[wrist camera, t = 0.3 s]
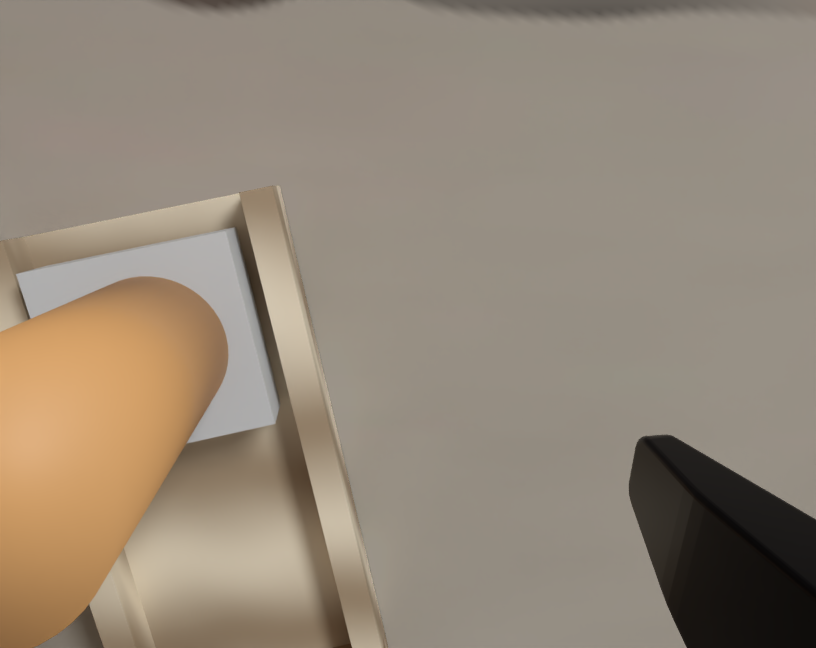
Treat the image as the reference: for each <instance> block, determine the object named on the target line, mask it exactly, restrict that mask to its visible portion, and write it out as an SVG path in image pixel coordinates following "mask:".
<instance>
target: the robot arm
mask: <svg viewBox="0 0 816 648" xmlns="http://www.w3.org/2000/svg"><path fill="white" fill-rule="evenodd" d="M629 496H630V500H631V504H632V507H633V510H634V512H635V515H636V518H637V521H638V524H639V527H640V530H641V533H642V536H643V538H644V541H645V544H646V547H647V550H648V553H649V556H650V559H651V561H652V564H653V567H654V570H655V573H656V576H657V579H658V582H659V585H660V587H661V590H662V593H663V595H664V598H665V601H666V603H667V606H668V608H669V610H670V613H671V615H672V617H673V619H674V622H675V624H676V626H677V628H678V630H679V632H680V634H681V636H682V638H683V641H684V643H685V645H686V647H687V648H816V519H814V518H812V517H811V516H809V515H807V514H806V513H804V512H802V511H800V510H799V509H797V508H795V507H794V506H792V505H790V504H788V503H787V502H785V501H783V500H782V499H780V498H778V497H776V496H775V495H773V494H771V493H770V492H768V491H766V490H765V489H763V488H761V487H759V486H758V485H756V484H754V483H753V482H751V481H749V480H747V479H746V478H744V477H742V476H741V475H739V474H737V473H735V472H734V471H732V470H730V469H729V468H727V467H725V466H723V465H722V464H720V463H718V462H717V461H715V460H713V459H711V458H710V457H708V456H706V455H705V454H703V453H701V452H699V451H698V450H696V449H694V448H693V447H691V446H689V445H687V444H686V443H684V442H682V441H681V440H679V439H677V438H675V437H673V436H671V435H655V436H644V437H642V438H640V439H639V440H638V442H637V444H636V448H635V453H634V459H633V464H632V469H631V475H630V480H629Z"/></svg>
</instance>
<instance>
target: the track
mask: <svg viewBox="0 0 816 648" xmlns="http://www.w3.org/2000/svg"><path fill="white" fill-rule="evenodd" d="M233 227H236V228H237V232H238V236H239V240H240V244H241V248H242V252H243V256H244V260H245V264H246V268H247V272H248V276H249V280H250V284H251V288H252V292H253V296H254V300H255V304H256V308H257V312H258V316H259V320H260V323H261V327H262V331H263V335H264V339H265V343H266V347H267V351H268V355H269V359H270V363H271V367H272V371H273V375H274V379H275V383H276V387H277V391H278V395H279V399H280V403H281V404H280V408H279V411H278V415H277V419H276V422H275V424H272V425H268V426H263V427H259V428H254V429H250V430H245V431H241V432H236V433H232V434H227V435H223V436H218V437H214V438H209V439H205V440H200V441H196V442H191V443H187V444H186V445H185V447H184V448H183V450H182V452H181V453H180V455H179V457H178V458H177V460H176V462H175V463H174V465H173V467H172V468H171V470H170V472H169V473H168V475H167V477H166V478H165V480H164V482H163V483H162V485H161V487H160V488H159V490H158V492H157V493H156V495H155V497H154V498H153V500H152V502H151V503H150V505H149V507H148V508H147V510H146V512H145V513H144V515H143V517H142V518H141V520H140V522H139V523H138V525H137V527H136V528H135V530H134V532H133V533H132V535H131V537H130V538H129V540H128V542H127V543H126V545H125V547H124V548H123V550H122V552H121V553H120V555H119V557H118V558H117V560H116V562H115V563H114V565H113V567H112V568H111V570H110V572H109V573H108V575H107V577H106V578H105V580H104V582H103V584H102V585H101V587H100V589H99V590H98V592H97V594H96V595H95V597H94V598H93V599H92V601H91V602H90V603H89V606H90V609H91V612H92V615H93V617H94V620H95V623H96V626H97V629H98V632H99V635H100V638H101V641H102V644H103V647H104V648H388V644H387V640H386V636H385V632H384V627H383V623H382V619H381V615H380V610H379V606H378V602H377V598H376V593H375V589H374V585H373V581H372V576H371V572H370V568H369V564H368V559H367V555H366V551H365V547H364V542H363V538H362V534H361V529H360V525H359V521H358V517H357V512H356V508H355V504H354V500H353V495H352V491H351V487H350V483H349V478H348V474H347V470H346V466H345V461H344V457H343V453H342V449H341V444H340V440H339V436H338V432H337V427H336V423H335V419H334V415H333V410H332V406H331V402H330V398H329V393H328V389H327V385H326V381H325V376H324V372H323V368H322V364H321V359H320V355H319V351H318V347H317V342H316V338H315V334H314V330H313V325H312V321H311V317H310V313H309V308H308V304H307V300H306V296H305V291H304V287H303V283H302V279H301V274H300V270H299V266H298V262H297V257H296V253H295V249H294V245H293V240H292V236H291V232H290V228H289V223H288V219H287V215H286V211H285V206H284V202H283V198H282V194H281V189H280V186H269V187H264V188H259V189H254V190H249V191H244V192H239V194H234V195H229V196H224V197H219V198H214V199H209V200H204V201H199V202H194V203H189V204H184V205H179V206H174V207H169V208H165V209H160V210H155V211H150V212H145V213H140V214H135V215H130V216H125V217H120V218H115V219H110V220H105V221H100V222H95V223H91V224H86V225H81V226H76V227H71V228H66V229H61V230H56V231H51V232H46V233H41V234H36V235H31V236H26V237H21V238H15V239H9V240H3V241H0V332H1V331H4V330H6V329H8V328H11V327H13V326H15V325H18V324H20V323H22V322H24V321H27V320H29V319H30V315H29V312H28V309H27V306H26V303H25V300H24V297H23V294H22V291H21V288H20V285H19V282H18V279H17V276H16V274H18V273H22V272H26V271H29V270H33V269H36V268H40V267H44V266H48V265H53V264H58V263H63V262H67V261H72V260H77V259H82V258H87V257H92V256H97V255H102V254H106V253H111V252H116V251H121V250H126V249H131V248H136V247H141V246H145V245H150V244H155V243H160V242H165V241H170V240H175V239H179V238H184V237H189V236H194V235H199V234H204V233H209V232H214V231H218V230H223V229H228V228H233Z"/></svg>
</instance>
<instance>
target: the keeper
mask: <svg viewBox="0 0 816 648" xmlns="http://www.w3.org/2000/svg"><path fill="white" fill-rule="evenodd" d="M16 276H17V279H18V282H19V285H20V288H21V291H22V294H23V297H24V300H25V303H26V306H27V309H28V312H29V315H30V319H29V320H27V321H24V322H22V323H20V324H18V325H15V326H13V327H11V328H8V329H6V330H4V331H1V332H0V648H33V647H35V646H38V645H40V644H42V643H43V642H45V641H47V640H49V639H50V638H52V637H54V636H55V635H57V634H58V633H60V632H61V631H62V630H63V629H65V628H66V627H67V626H69V625H70V624H71V623H72V622H73V621H74V620H75V619H76V618H77V617H78V616H79V615H80V614H81V613H82V612H83V611H84V610H85V609H86V607H87V606H88V605H89V603H90V602H91V601H92V599H93V598H94V597H95V595H96V594H97V592H98V590H99V589H100V587H101V585H102V584H103V582H104V580H105V578H106V577H107V575H108V573H109V572H110V570H111V568H112V567H113V565H114V563H115V562H116V560H117V558H118V557H119V555H120V553H121V552H122V550H123V548H124V547H125V545H126V543H127V542H128V540H129V538H130V537H131V535H132V533H133V532H134V530H135V528H136V527H137V525H138V523H139V522H140V520H141V518H142V517H143V515H144V513H145V512H146V510H147V508H148V507H149V505H150V503H151V502H152V500H153V498H154V497H155V495H156V493H157V492H158V490H159V488H160V487H161V485H162V483H163V482H164V480H165V478H166V477H167V475H168V473H169V472H170V470H171V468H172V467H173V465H174V463H175V462H176V460H177V458H178V457H179V455H180V453H181V452H182V450H183V448H184V447H185V445H186V444H187V443H191V442H196V441H200V440H205V439H209V438H214V437H218V436H223V435H227V434H232V433H236V432H241V431H245V430H250V429H254V428H259V427H263V426H268V425H272V424H275V422H276V419H277V415H278V411H279V408H280V404H281V403H280V399H279V395H278V391H277V387H276V383H275V379H274V375H273V371H272V367H271V363H270V359H269V355H268V351H267V347H266V343H265V339H264V335H263V331H262V327H261V323H260V320H259V316H258V312H257V308H256V304H255V300H254V296H253V292H252V288H251V284H250V280H249V276H248V272H247V268H246V264H245V260H244V256H243V252H242V248H241V244H240V240H239V236H238V232H237V228H236V227H233V228H228V229H223V230H218V231H214V232H209V233H204V234H199V235H194V236H189V237H184V238H179V239H175V240H170V241H165V242H160V243H155V244H150V245H145V246H141V247H136V248H131V249H126V250H121V251H116V252H111V253H106V254H102V255H97V256H92V257H87V258H82V259H77V260H72V261H67V262H63V263H58V264H53V265H48V266H44V267H40V268H36V269H33V270H29V271H26V272H22V273H18V274H16Z"/></svg>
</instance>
